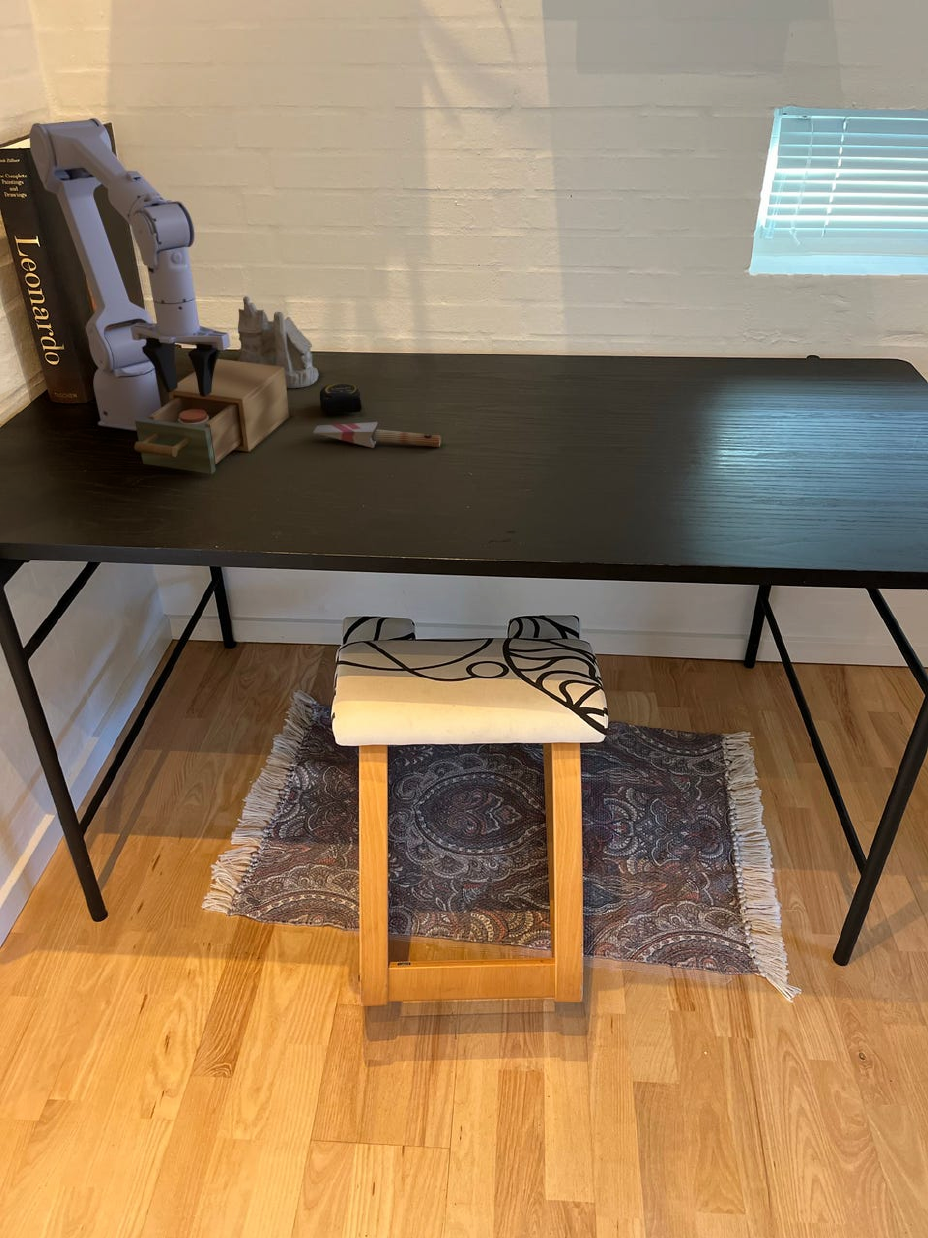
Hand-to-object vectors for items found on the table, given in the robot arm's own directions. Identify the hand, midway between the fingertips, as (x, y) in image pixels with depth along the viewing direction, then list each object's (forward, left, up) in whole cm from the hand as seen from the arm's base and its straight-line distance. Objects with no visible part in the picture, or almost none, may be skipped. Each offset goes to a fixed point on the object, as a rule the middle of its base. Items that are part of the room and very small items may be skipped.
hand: (189, 392), depth 139 cm
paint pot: (0, 0, -8) cm, 8 cm away
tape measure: (+14, +23, -11) cm, 29 cm away
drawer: (0, -2, -9) cm, 10 cm away
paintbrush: (+24, +13, -11) cm, 29 cm away
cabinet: (0, +11, -10) cm, 15 cm away
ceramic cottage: (-4, +37, -11) cm, 39 cm away
